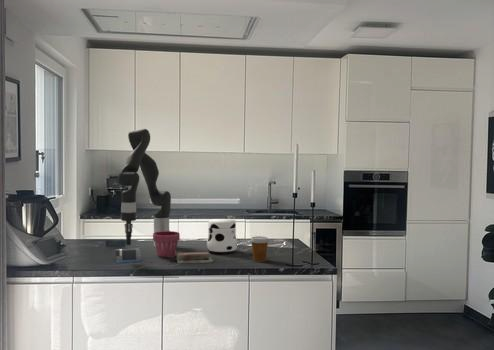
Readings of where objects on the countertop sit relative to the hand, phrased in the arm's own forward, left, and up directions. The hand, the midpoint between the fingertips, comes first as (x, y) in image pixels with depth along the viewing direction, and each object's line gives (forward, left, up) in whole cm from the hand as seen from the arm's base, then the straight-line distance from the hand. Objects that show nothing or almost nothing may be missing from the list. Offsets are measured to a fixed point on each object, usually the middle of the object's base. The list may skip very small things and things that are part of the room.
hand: (128, 244), depth 241 cm
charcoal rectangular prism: (+1, 0, -7) cm, 8 cm away
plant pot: (-20, -7, -9) cm, 23 cm away
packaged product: (-33, +7, -9) cm, 35 cm away
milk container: (-52, -12, -9) cm, 54 cm away
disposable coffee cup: (-66, +14, -9) cm, 68 cm away
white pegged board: (0, -6, -8) cm, 10 cm away
